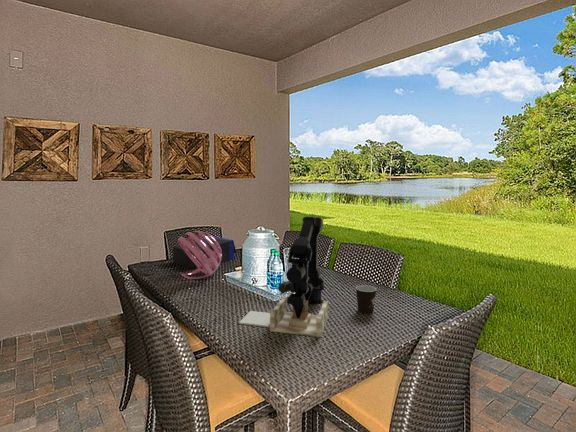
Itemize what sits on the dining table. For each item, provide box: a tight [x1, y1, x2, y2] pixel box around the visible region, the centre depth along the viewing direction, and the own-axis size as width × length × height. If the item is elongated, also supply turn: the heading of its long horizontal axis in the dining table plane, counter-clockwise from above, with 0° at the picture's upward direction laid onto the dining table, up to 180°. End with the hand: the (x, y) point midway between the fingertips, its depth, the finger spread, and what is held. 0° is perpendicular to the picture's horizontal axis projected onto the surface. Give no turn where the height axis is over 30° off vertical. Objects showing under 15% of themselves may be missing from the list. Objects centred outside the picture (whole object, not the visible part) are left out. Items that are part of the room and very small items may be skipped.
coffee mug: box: [355, 284, 377, 315], centre depth 149 cm, size 12×9×10 cm
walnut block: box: [292, 300, 309, 320], centre depth 135 cm, size 5×5×6 cm
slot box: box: [269, 296, 329, 338], centre depth 136 cm, size 18×19×7 cm
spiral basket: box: [177, 230, 222, 280], centre depth 199 cm, size 28×28×27 cm
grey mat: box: [238, 310, 271, 328], centre depth 140 cm, size 12×12×1 cm
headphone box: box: [172, 236, 237, 270], centre depth 237 cm, size 25×35×14 cm
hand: (300, 314), depth 135 cm, fingers open, 7 cm apart
